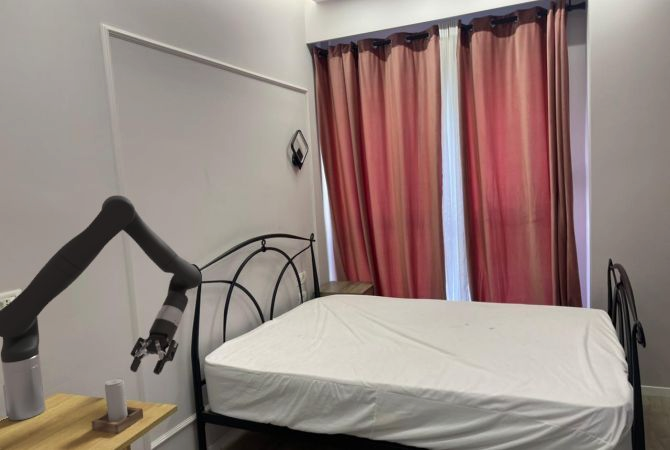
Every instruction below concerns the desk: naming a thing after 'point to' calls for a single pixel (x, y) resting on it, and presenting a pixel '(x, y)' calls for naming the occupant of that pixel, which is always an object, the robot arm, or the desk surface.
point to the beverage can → (116, 399)
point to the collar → (117, 427)
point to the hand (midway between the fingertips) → (144, 372)
